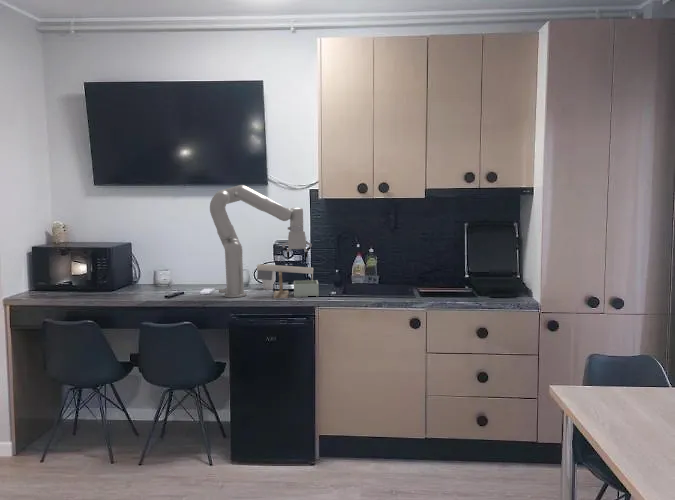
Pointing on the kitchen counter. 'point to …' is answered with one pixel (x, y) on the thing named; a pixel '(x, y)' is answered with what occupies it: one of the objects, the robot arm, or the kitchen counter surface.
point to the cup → (306, 288)
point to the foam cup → (269, 282)
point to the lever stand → (281, 289)
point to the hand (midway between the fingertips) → (297, 258)
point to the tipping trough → (266, 270)
